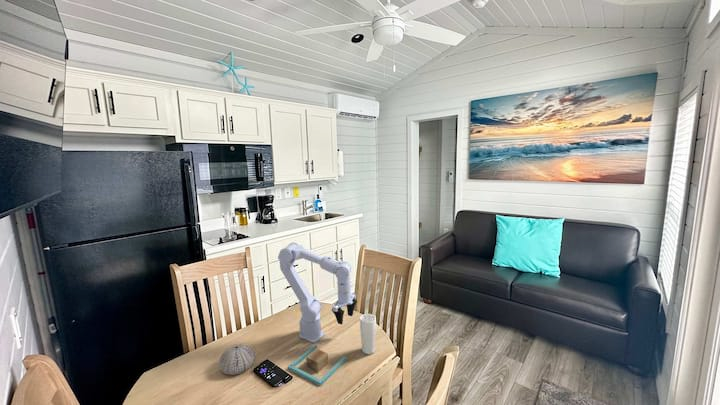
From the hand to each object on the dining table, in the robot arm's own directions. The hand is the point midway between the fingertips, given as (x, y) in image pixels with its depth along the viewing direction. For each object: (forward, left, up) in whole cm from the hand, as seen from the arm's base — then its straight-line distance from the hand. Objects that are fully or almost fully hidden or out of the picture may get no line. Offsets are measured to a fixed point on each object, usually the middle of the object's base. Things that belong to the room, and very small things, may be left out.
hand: (345, 319), depth 130 cm
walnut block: (0, -20, -10) cm, 22 cm away
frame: (0, -19, -10) cm, 21 cm away
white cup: (+13, -2, -10) cm, 16 cm away
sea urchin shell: (-27, -36, -10) cm, 46 cm away
